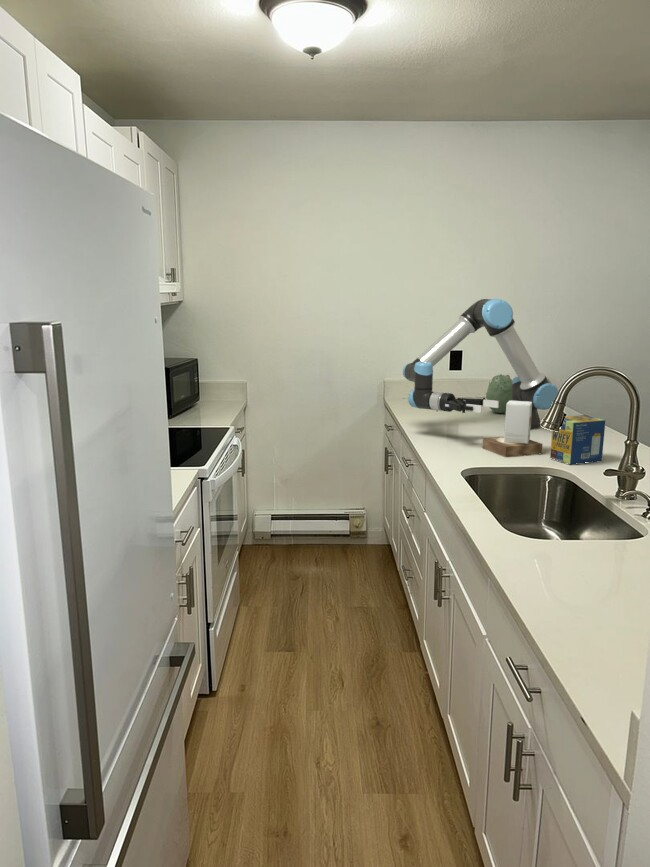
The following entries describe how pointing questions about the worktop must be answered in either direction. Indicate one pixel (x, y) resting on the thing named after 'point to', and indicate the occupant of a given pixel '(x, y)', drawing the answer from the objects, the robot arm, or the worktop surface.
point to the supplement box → (518, 422)
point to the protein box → (578, 440)
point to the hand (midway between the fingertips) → (490, 406)
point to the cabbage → (500, 392)
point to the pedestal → (511, 447)
